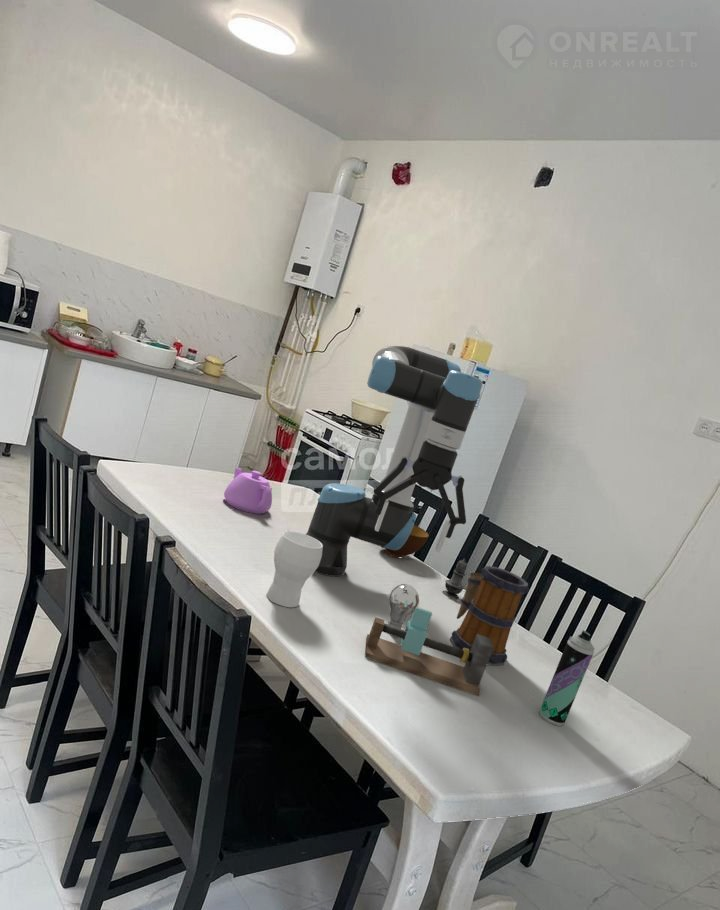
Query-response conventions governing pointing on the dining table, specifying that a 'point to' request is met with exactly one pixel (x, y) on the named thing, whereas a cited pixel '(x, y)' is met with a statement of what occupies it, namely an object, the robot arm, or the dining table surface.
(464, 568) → the salt shaker
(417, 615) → the sleeve
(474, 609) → the mug
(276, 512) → the dining table surface
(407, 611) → the light bulb
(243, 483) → the teapot
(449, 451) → the robot arm
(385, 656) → the wooden axle stand
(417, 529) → the bowl
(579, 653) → the spray can
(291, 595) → the cup
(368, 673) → the dining table surface
